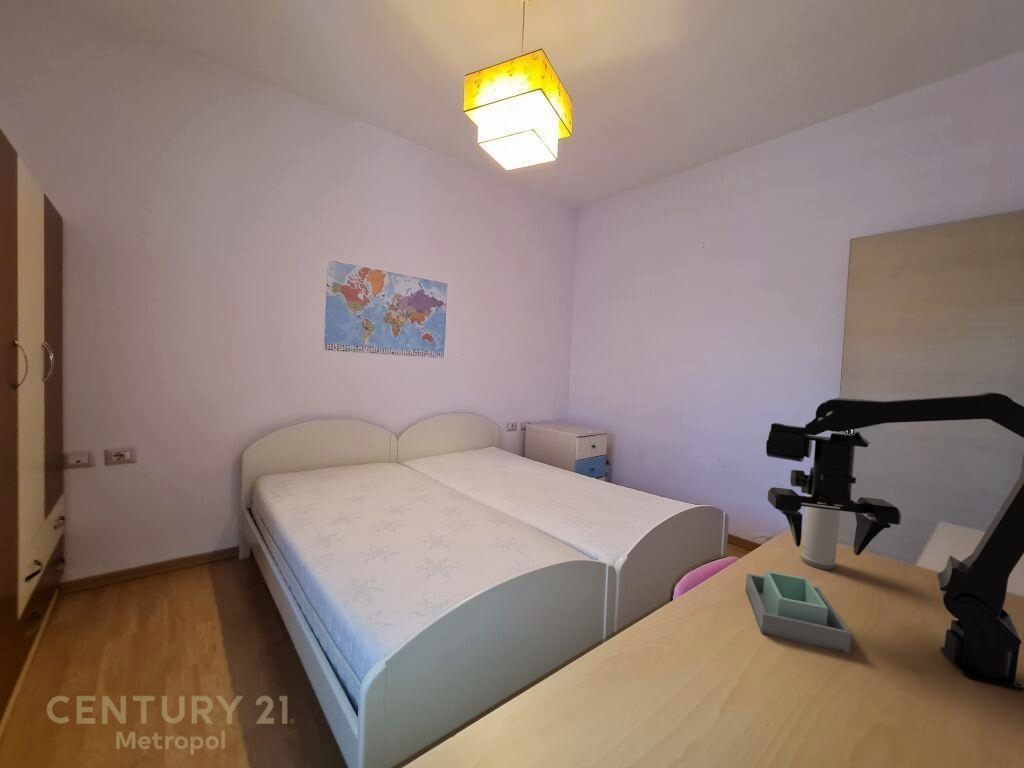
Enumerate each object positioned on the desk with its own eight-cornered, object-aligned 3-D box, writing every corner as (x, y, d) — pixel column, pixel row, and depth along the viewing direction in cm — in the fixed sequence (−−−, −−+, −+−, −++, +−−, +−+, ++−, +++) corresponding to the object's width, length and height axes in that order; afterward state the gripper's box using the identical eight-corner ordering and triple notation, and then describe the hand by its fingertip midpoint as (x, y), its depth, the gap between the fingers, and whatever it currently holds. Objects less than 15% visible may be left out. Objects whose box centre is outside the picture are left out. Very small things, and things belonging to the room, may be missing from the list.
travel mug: (794, 559, 97) (801, 476, 95) (810, 554, 99) (818, 474, 98) (823, 572, 91) (832, 484, 89) (840, 567, 94) (849, 481, 92)
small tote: (762, 595, 80) (765, 570, 79) (805, 603, 77) (807, 578, 77) (776, 626, 70) (779, 598, 70) (825, 637, 68) (828, 608, 68)
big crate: (817, 604, 78) (818, 587, 78) (849, 654, 65) (851, 633, 65) (745, 589, 83) (746, 573, 82) (761, 633, 69) (763, 614, 69)
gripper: (871, 462, 80) (865, 540, 80) (762, 452, 85) (757, 525, 86) (906, 477, 69) (898, 567, 70) (779, 465, 75) (773, 548, 76)
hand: (826, 550), depth 76 cm, fingers open, 9 cm apart
